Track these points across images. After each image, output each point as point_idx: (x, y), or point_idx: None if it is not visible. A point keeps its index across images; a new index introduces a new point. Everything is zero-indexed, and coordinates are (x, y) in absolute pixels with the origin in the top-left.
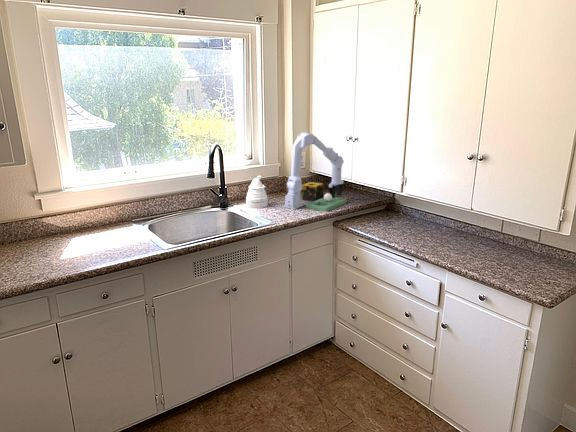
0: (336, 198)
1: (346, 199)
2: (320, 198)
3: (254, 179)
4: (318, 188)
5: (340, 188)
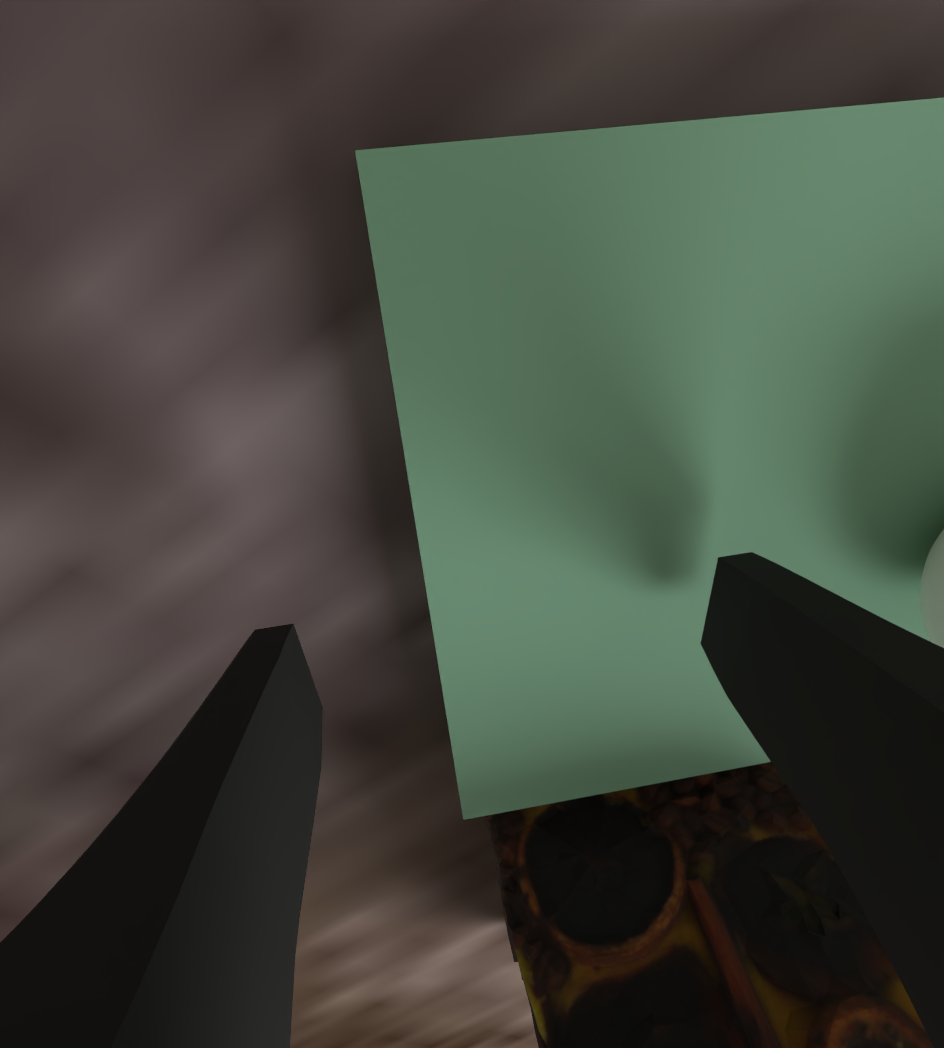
0: (548, 553)
1: (399, 148)
2: (596, 802)
3: None
4: None
5: (202, 990)
